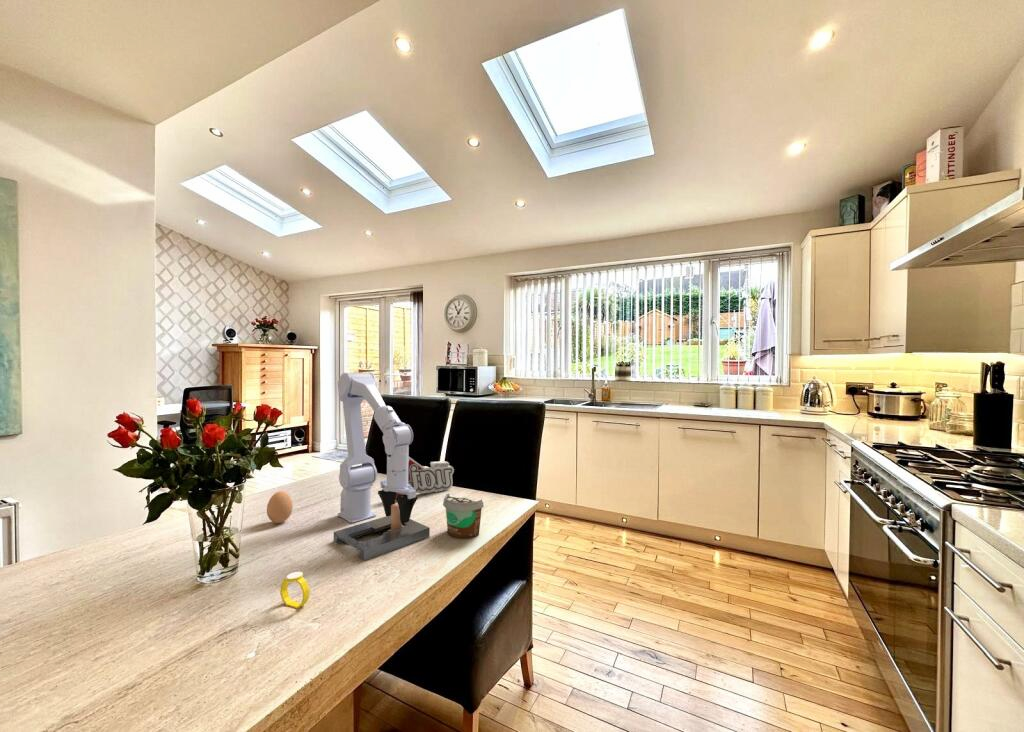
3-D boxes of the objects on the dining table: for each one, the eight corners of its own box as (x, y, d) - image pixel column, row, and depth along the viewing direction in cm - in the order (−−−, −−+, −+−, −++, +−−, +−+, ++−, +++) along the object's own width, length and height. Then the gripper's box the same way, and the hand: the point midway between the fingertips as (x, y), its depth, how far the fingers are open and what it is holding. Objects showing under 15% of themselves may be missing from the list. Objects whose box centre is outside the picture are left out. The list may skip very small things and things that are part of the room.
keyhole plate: (333, 541, 108) (333, 531, 108) (396, 521, 122) (396, 513, 122) (363, 561, 97) (364, 550, 97) (429, 536, 111) (429, 527, 111)
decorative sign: (447, 493, 157) (451, 454, 157) (451, 495, 154) (455, 455, 155) (389, 500, 142) (394, 456, 143) (392, 502, 140) (397, 457, 141)
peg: (383, 534, 113) (384, 505, 113) (400, 529, 117) (400, 501, 117) (392, 539, 109) (393, 509, 109) (409, 534, 113) (409, 505, 113)
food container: (433, 535, 113) (433, 498, 113) (447, 527, 118) (447, 492, 118) (471, 544, 107) (471, 506, 107) (483, 536, 112) (483, 499, 112)
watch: (277, 607, 79) (276, 576, 79) (289, 600, 82) (288, 569, 82) (301, 612, 77) (300, 580, 77) (313, 604, 80) (311, 573, 80)
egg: (293, 524, 119) (293, 492, 119) (266, 528, 116) (267, 496, 116) (291, 516, 125) (291, 487, 125) (266, 521, 121) (266, 490, 121)
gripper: (370, 467, 115) (370, 515, 115) (399, 477, 105) (399, 530, 105) (393, 463, 120) (392, 509, 120) (422, 472, 110) (422, 522, 110)
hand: (397, 518), depth 113 cm, fingers open, 7 cm apart
